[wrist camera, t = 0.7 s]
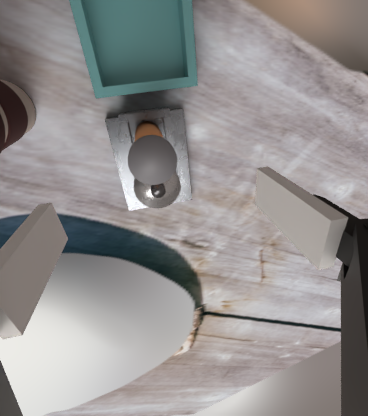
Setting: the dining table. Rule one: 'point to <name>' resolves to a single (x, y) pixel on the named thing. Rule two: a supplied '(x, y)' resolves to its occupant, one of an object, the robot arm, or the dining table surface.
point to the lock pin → (151, 155)
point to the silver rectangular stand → (121, 143)
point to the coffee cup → (14, 114)
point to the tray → (137, 44)
